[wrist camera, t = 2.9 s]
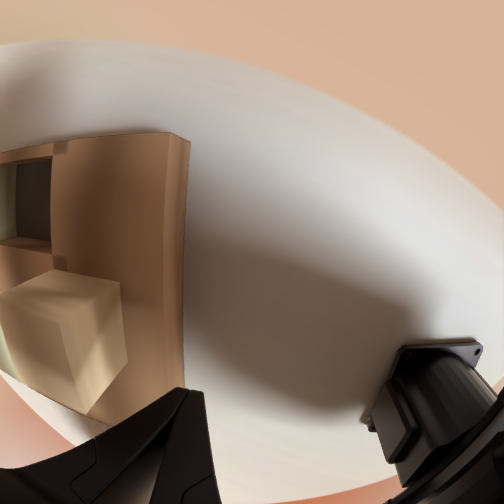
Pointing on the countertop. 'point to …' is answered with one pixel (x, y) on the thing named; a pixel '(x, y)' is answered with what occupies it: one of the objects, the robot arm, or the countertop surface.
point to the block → (65, 335)
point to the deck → (106, 245)
